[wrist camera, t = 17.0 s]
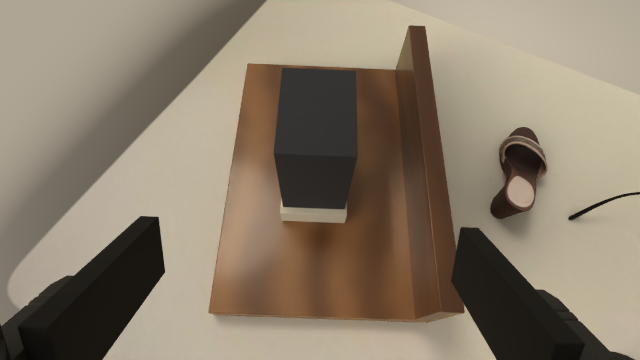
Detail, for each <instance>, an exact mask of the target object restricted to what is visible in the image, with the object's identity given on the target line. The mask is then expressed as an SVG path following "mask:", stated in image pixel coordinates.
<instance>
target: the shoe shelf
mask: <svg viewBox="0 0 640 360" xmlns="http://www.w3.org/2000/svg"><path fill="white" fill-rule="evenodd" d="M283 67H284V68H307V69H330V70H353V71H356V95H357V152H358V157H357V161H356V165H355V169H354V173H353V177H352V181H351V185H350V189H349V193H348V197H347V217H346V220H345V223H328V222H302V221H282V219H281V214H280V209H281V193H280V187H279V182H278V176H277V170H276V165H275V159H274V154H273V153H274V143H275V133H276V123H277V113H278V103H279V94H280V84H281V74H282V68H283ZM455 256H456V246H455V239H454V232H453V224H452V217H451V210H450V203H449V195H448V188H447V181H446V174H445V166H444V159H443V152H442V145H441V138H440V130H439V123H438V116H437V109H436V101H435V94H434V87H433V80H432V72H431V65H430V58H429V51H428V43H427V36H426V29H425V26H409V27H408V30H407V34H406V37H405V40H404V43H403V47H402V50H401V53H400V57H399V60H398V63H397V66H396V70H385V69H362V68H339V67H316V66H293V65H270V64H248V65H247V71H246V77H245V84H244V90H243V96H242V103H241V109H240V115H239V122H238V128H237V134H236V141H235V147H234V153H233V160H232V166H231V172H230V179H229V185H228V191H227V198H226V204H225V210H224V217H223V223H222V229H221V236H220V242H219V248H218V255H217V261H216V267H215V274H214V280H213V286H212V293H211V299H210V305H209V313H211V314H213V315H227V316H255V317H284V318H312V319H341V320H369V321H397V322H426V323H428V322H432V321H435V320H439V319H443V318H447V317H451V316H454V315H458V314H462V313H464V312H465V311H464V304H463V301H462V299H461V298H460V296H459V294H458V292H457V291H456V289H455V287H454V286H453V284H452V282H451V277H452V272H453V267H454V261H455Z"/></svg>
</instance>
